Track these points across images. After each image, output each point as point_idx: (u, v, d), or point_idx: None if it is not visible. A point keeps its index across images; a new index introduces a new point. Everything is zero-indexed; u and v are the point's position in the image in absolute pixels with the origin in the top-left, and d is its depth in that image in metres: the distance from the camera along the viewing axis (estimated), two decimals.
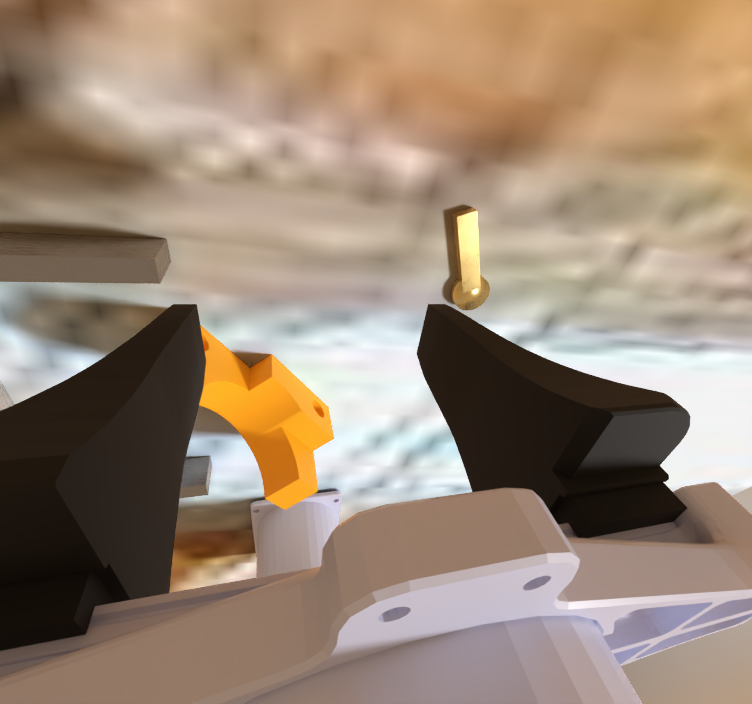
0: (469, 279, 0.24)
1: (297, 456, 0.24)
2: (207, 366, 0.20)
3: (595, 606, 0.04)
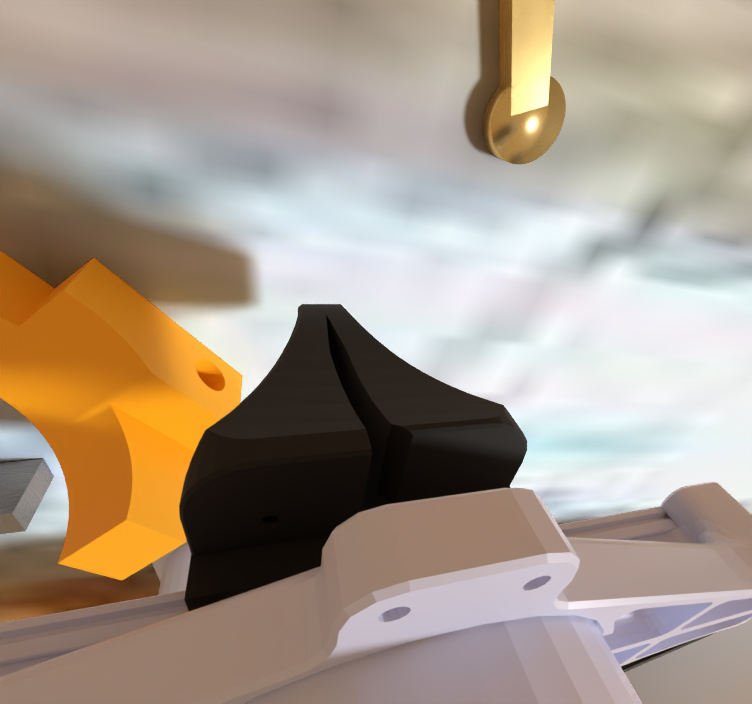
0: (527, 79, 0.11)
1: (142, 467, 0.11)
2: None
3: (595, 606, 0.04)
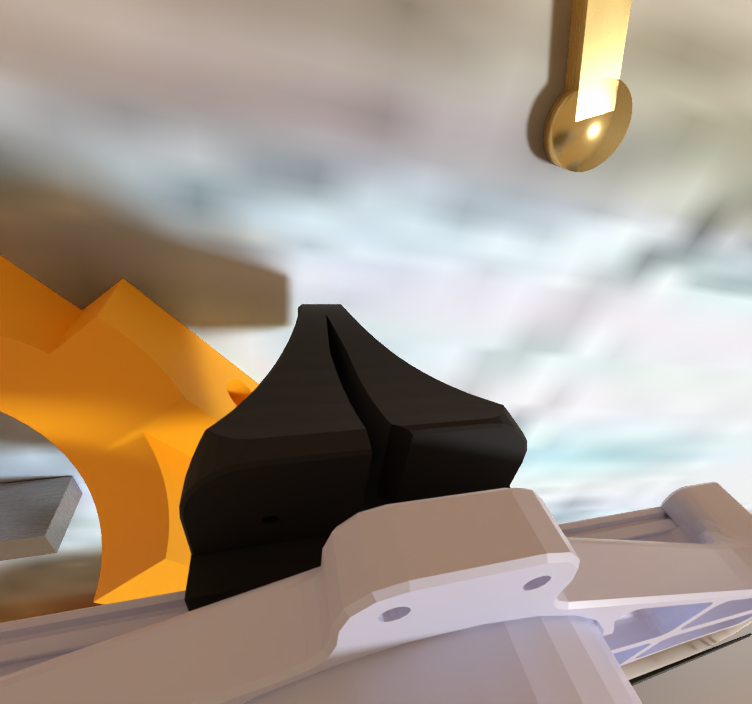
0: (595, 83, 0.10)
1: (177, 498, 0.11)
2: None
3: (595, 606, 0.04)
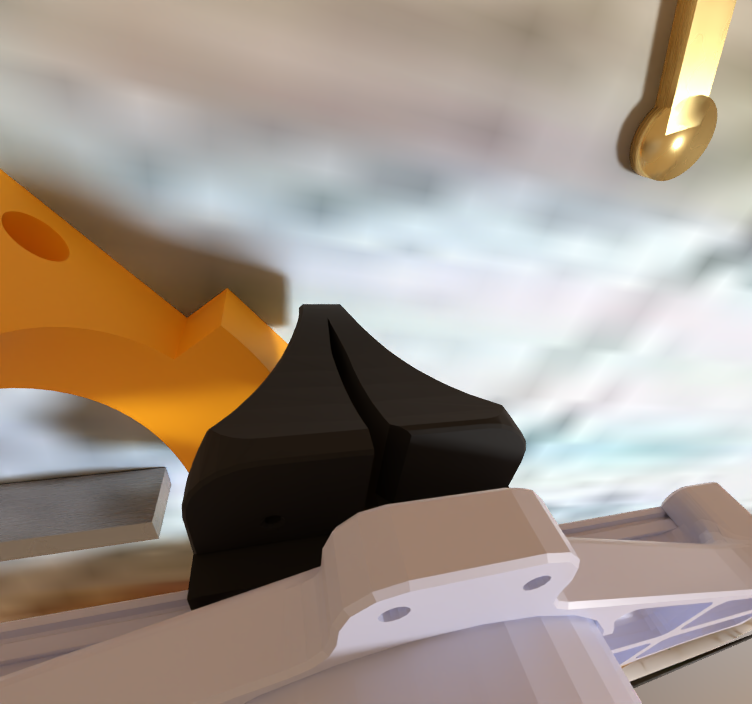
0: (687, 100, 0.11)
1: None
2: (46, 291, 0.08)
3: (595, 606, 0.04)
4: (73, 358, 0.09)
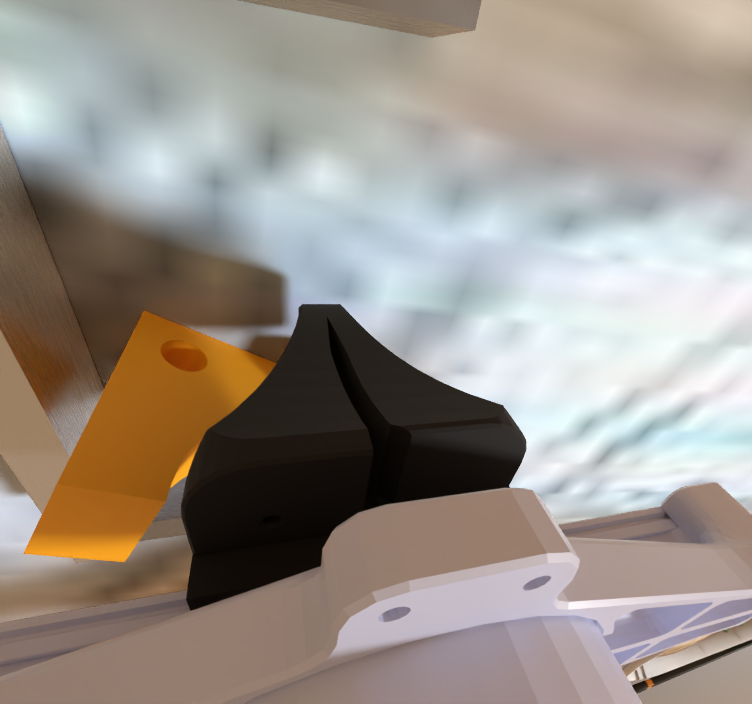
0: None
1: None
2: (206, 397, 0.11)
3: (595, 606, 0.04)
4: None
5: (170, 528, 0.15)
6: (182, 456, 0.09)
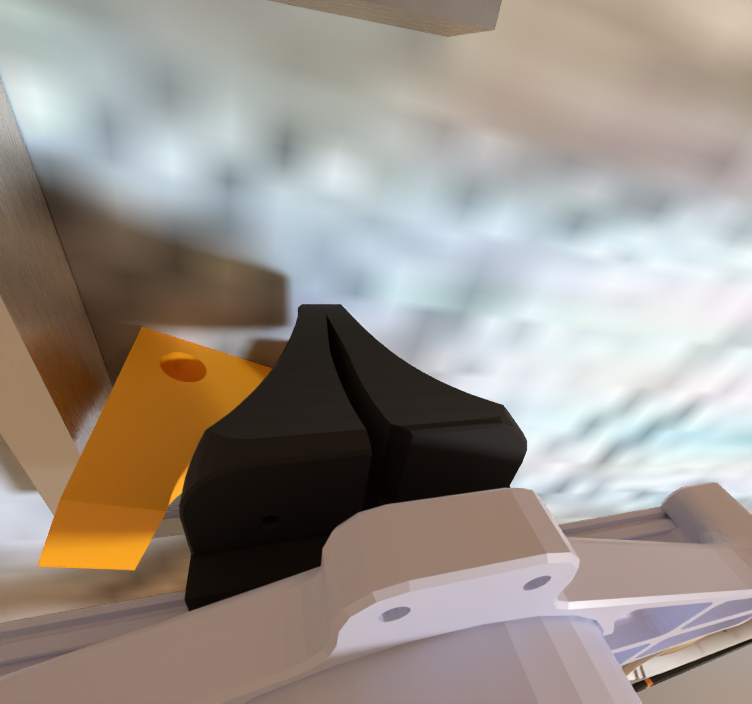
0: None
1: None
2: (205, 406, 0.11)
3: (595, 606, 0.04)
4: None
5: (177, 526, 0.15)
6: (182, 466, 0.09)
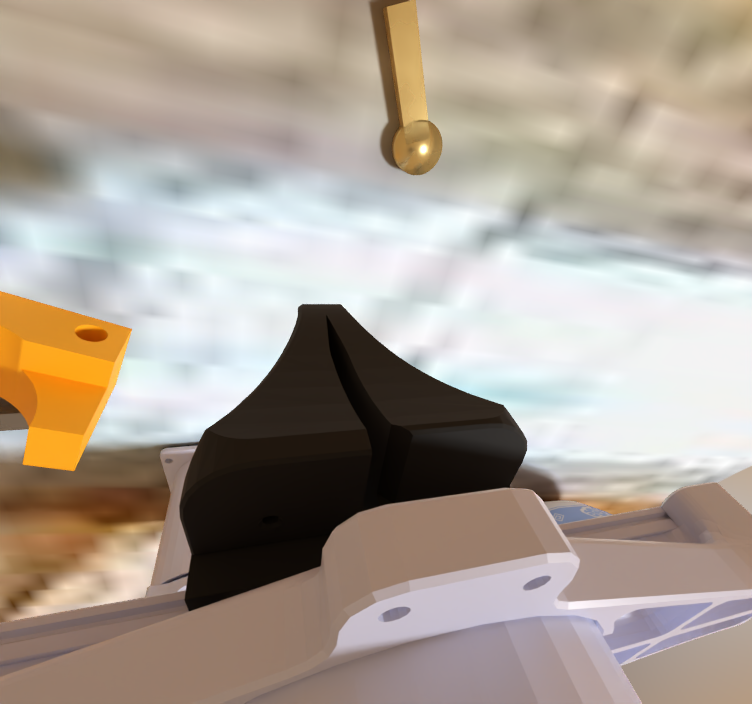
0: (413, 122, 0.18)
1: (47, 399, 0.17)
2: None
3: (595, 606, 0.04)
4: None
5: None
6: None
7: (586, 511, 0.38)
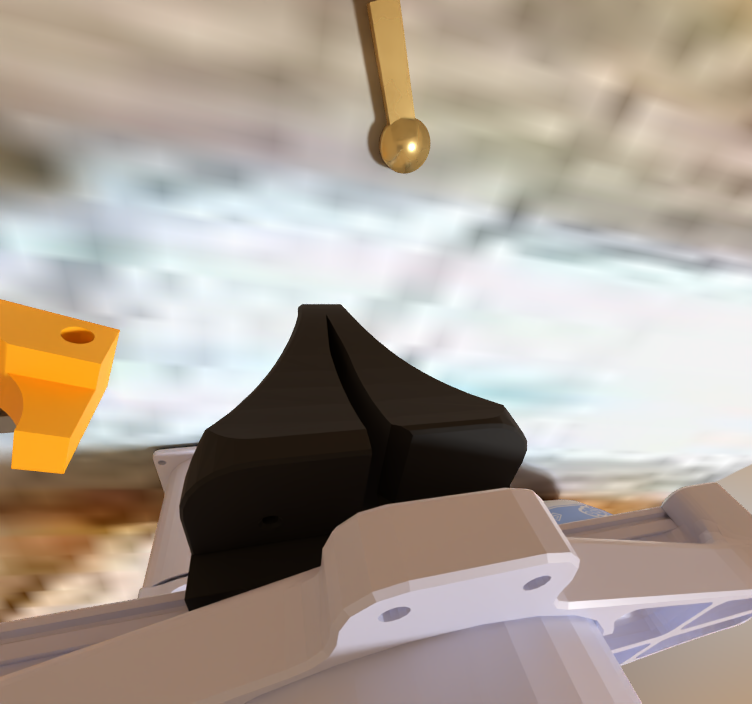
0: (399, 120, 0.17)
1: (33, 402, 0.17)
2: None
3: (595, 606, 0.04)
4: None
5: None
6: None
7: (584, 510, 0.37)
